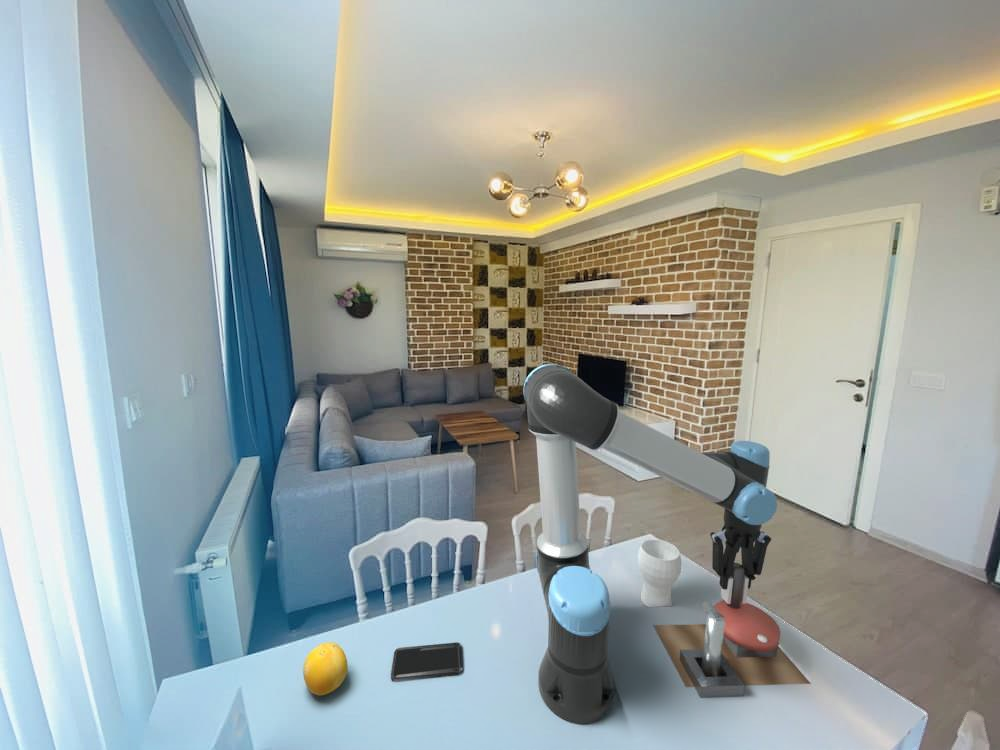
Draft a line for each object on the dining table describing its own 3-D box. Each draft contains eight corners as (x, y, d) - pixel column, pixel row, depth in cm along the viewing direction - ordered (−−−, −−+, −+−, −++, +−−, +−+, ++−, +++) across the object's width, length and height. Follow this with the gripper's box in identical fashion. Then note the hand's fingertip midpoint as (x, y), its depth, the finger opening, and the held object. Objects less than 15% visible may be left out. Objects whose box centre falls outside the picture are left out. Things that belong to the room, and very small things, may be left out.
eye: (700, 697, 79) (701, 686, 79) (679, 659, 88) (680, 649, 87) (742, 696, 79) (744, 685, 79) (718, 658, 88) (719, 648, 88)
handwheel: (734, 652, 86) (740, 601, 84) (702, 607, 99) (706, 562, 97) (793, 650, 86) (801, 600, 84) (754, 606, 99) (759, 562, 97)
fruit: (357, 679, 84) (355, 645, 83) (323, 712, 77) (320, 676, 76) (329, 660, 89) (327, 628, 87) (295, 690, 82) (292, 655, 80)
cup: (670, 588, 112) (674, 539, 110) (683, 617, 102) (688, 563, 99) (631, 585, 113) (634, 536, 111) (640, 613, 103) (644, 560, 100)
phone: (462, 671, 85) (389, 679, 83) (462, 676, 85) (390, 683, 84) (461, 641, 93) (394, 647, 91) (461, 645, 93) (395, 651, 91)
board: (685, 693, 82) (687, 674, 81) (652, 630, 97) (654, 614, 97) (809, 689, 83) (812, 670, 82) (757, 628, 98) (759, 612, 98)
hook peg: (706, 684, 82) (712, 620, 80) (693, 663, 87) (699, 602, 84) (721, 684, 82) (728, 619, 80) (708, 662, 87) (714, 601, 85)
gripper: (718, 517, 89) (708, 611, 93) (789, 516, 89) (777, 610, 93) (700, 501, 96) (692, 589, 100) (766, 500, 97) (755, 588, 101)
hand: (733, 599), depth 97 cm, fingers closed on handwheel, 3 cm apart
